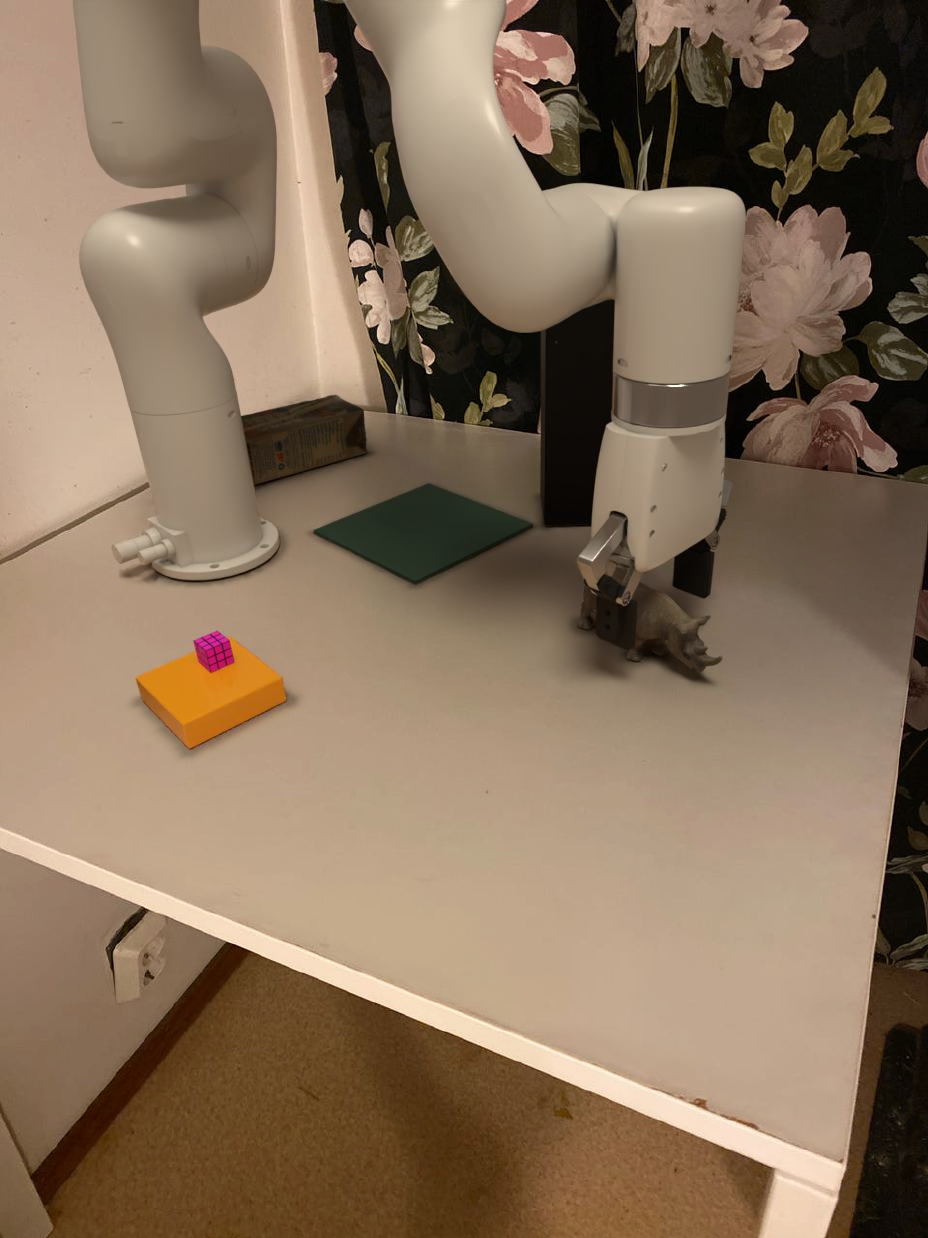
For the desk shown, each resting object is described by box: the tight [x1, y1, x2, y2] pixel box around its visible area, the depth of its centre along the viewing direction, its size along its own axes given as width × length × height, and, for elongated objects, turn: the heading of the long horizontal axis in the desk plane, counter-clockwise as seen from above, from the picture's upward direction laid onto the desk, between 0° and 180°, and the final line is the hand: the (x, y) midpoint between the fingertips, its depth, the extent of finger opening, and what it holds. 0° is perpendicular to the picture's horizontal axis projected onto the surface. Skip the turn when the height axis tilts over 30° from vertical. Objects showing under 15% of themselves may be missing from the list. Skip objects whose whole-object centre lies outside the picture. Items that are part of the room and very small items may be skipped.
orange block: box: [135, 630, 287, 749], centre depth 64 cm, size 8×8×4 cm
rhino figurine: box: [576, 566, 724, 674], centre depth 67 cm, size 4×14×6 cm, turn 37°
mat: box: [313, 482, 534, 585], centre depth 89 cm, size 16×16×1 cm
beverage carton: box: [241, 394, 368, 486], centre depth 104 cm, size 8×19×7 cm, turn 127°
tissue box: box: [539, 299, 615, 527], centre depth 84 cm, size 8×8×28 cm
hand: (654, 616), depth 66 cm, fingers open, 9 cm apart
